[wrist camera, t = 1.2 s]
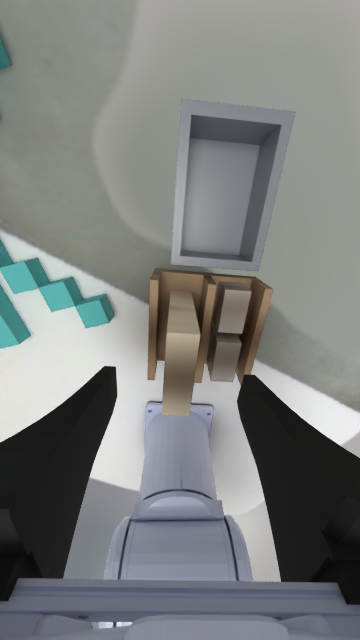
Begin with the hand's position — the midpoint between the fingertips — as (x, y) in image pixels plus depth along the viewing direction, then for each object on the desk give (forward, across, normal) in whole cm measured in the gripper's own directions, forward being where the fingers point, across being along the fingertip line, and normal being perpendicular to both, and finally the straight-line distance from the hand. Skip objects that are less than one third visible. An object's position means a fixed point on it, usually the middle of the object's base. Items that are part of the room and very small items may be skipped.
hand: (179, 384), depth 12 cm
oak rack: (+10, -2, 0) cm, 10 cm away
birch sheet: (+9, 0, 0) cm, 9 cm away
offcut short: (+9, -4, -2) cm, 10 cm away
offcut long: (+9, -4, +2) cm, 10 cm away
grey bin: (+10, -2, -10) cm, 14 cm away
